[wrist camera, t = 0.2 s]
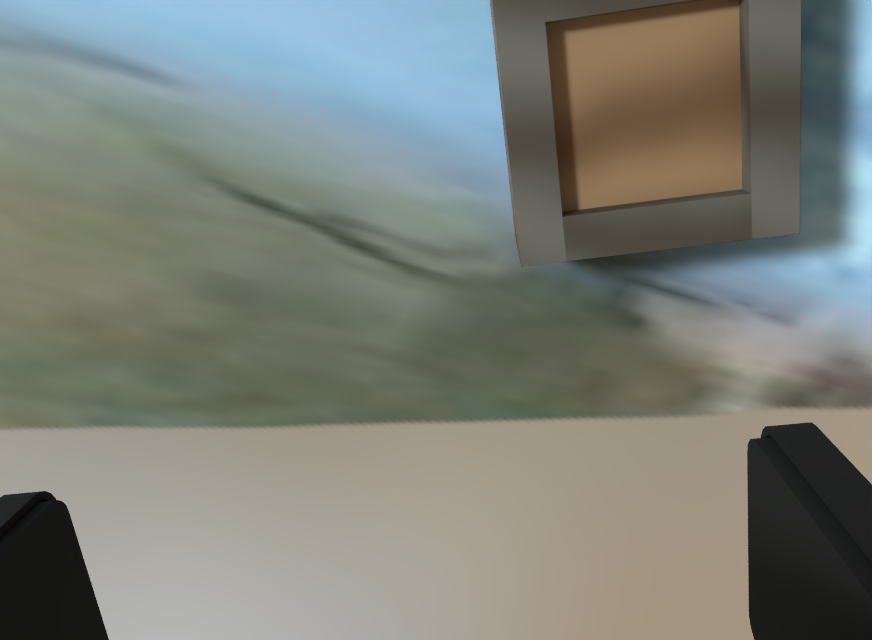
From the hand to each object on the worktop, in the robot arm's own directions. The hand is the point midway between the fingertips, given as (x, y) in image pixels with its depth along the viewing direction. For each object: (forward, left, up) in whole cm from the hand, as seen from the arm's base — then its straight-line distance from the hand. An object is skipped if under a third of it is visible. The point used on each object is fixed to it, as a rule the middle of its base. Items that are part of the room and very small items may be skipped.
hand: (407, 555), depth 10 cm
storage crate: (-4, +8, -31) cm, 32 cm away
